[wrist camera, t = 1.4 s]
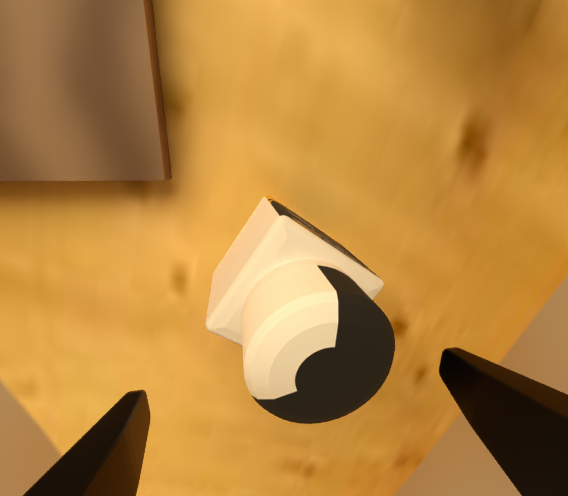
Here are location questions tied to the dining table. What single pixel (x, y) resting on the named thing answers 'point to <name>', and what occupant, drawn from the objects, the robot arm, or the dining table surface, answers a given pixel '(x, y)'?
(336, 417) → the medicine bottle
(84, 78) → the walnut plinth
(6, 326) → the dining table surface
